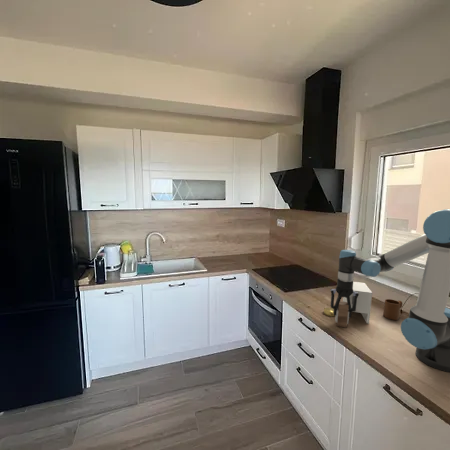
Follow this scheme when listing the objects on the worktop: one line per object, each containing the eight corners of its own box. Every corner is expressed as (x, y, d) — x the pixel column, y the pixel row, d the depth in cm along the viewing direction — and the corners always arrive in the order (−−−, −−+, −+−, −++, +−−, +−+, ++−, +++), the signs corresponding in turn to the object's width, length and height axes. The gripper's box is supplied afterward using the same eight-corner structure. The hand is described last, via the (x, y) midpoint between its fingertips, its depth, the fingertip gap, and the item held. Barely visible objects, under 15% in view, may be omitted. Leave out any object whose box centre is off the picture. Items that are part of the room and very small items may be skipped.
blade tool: (346, 327, 134) (348, 305, 132) (337, 326, 135) (339, 304, 133) (340, 311, 152) (342, 292, 151) (332, 310, 153) (334, 291, 152)
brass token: (339, 316, 146) (339, 312, 146) (327, 317, 145) (328, 313, 145) (331, 311, 153) (332, 307, 153) (321, 311, 152) (321, 307, 152)
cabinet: (369, 324, 138) (372, 293, 136) (347, 320, 141) (350, 290, 139) (362, 310, 154) (364, 282, 152) (342, 308, 157) (344, 280, 155)
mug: (394, 312, 154) (395, 297, 153) (406, 318, 147) (408, 302, 146) (379, 315, 149) (381, 299, 148) (392, 321, 142) (394, 305, 141)
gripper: (362, 279, 134) (358, 321, 137) (326, 275, 139) (323, 316, 142) (365, 284, 127) (361, 328, 130) (328, 279, 132) (324, 322, 135)
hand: (341, 321), depth 136 cm, fingers closed on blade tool, 4 cm apart
